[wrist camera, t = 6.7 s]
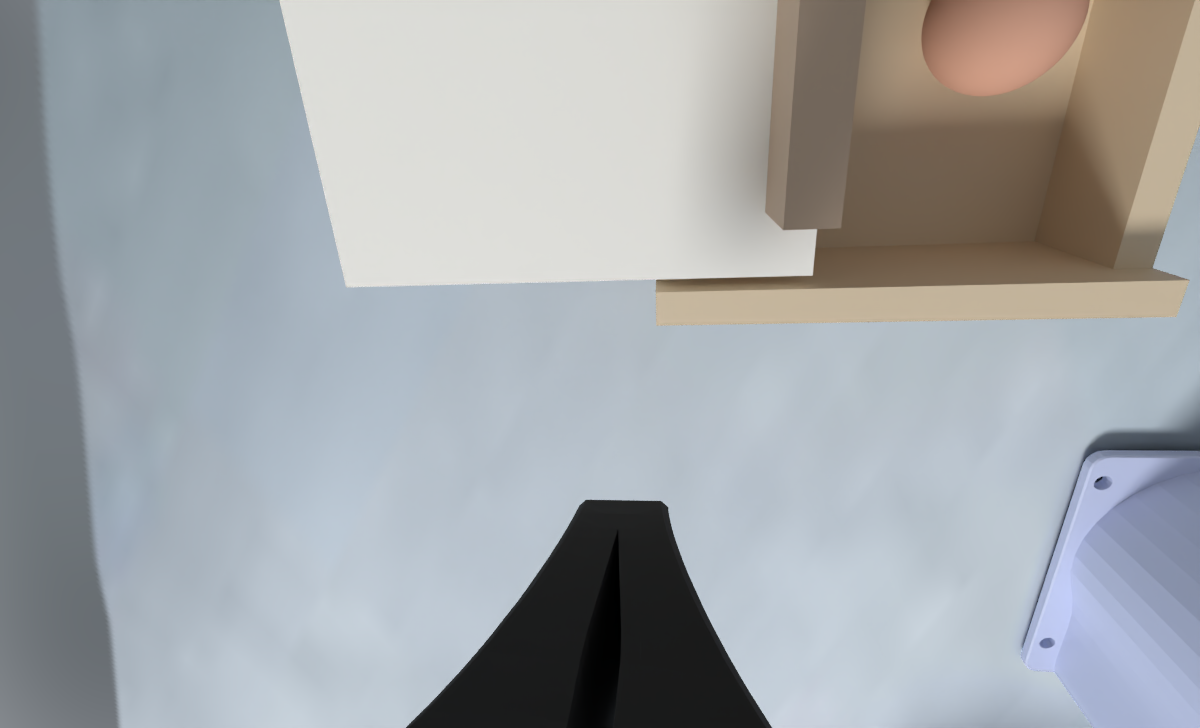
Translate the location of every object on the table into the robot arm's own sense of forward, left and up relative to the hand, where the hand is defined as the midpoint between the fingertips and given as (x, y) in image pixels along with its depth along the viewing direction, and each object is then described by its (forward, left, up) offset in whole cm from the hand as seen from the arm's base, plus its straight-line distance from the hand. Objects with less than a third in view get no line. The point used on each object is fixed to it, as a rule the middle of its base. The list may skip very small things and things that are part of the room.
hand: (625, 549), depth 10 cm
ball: (+8, -8, -9) cm, 15 cm away
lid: (+8, +2, -6) cm, 10 cm away
